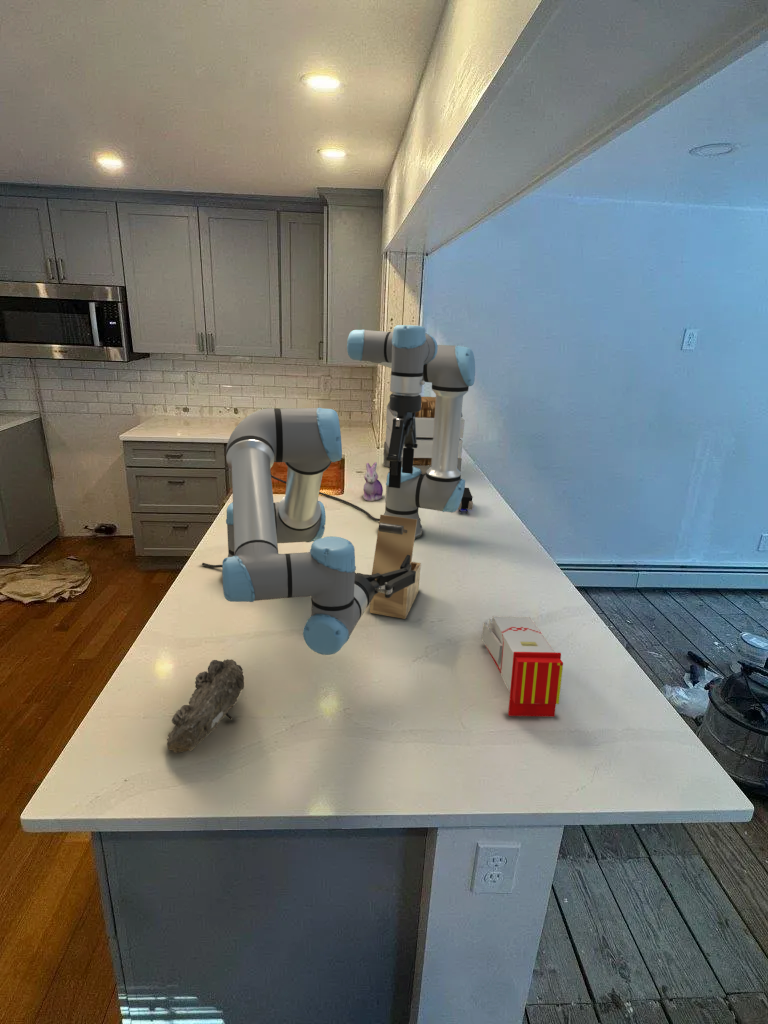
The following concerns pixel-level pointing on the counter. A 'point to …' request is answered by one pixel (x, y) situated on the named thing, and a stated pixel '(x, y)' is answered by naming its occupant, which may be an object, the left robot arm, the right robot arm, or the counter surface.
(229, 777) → the counter surface
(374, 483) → the figurine
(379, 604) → the chest
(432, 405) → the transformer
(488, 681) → the counter surface
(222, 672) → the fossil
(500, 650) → the toy
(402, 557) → the lid
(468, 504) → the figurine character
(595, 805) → the counter surface
